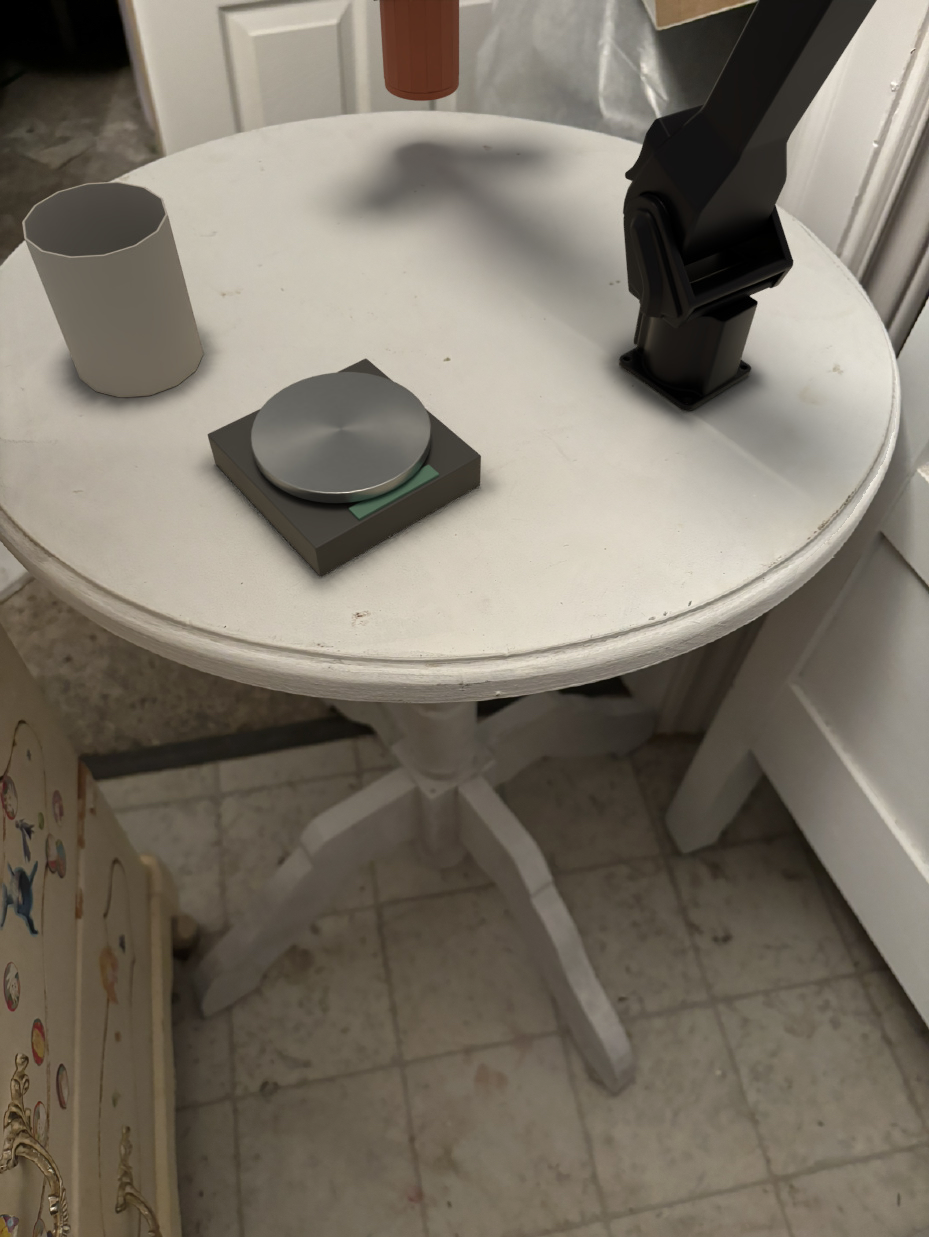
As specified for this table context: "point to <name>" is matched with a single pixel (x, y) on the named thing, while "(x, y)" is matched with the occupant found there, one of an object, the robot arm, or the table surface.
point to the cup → (115, 286)
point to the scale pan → (341, 437)
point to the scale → (354, 526)
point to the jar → (420, 48)
